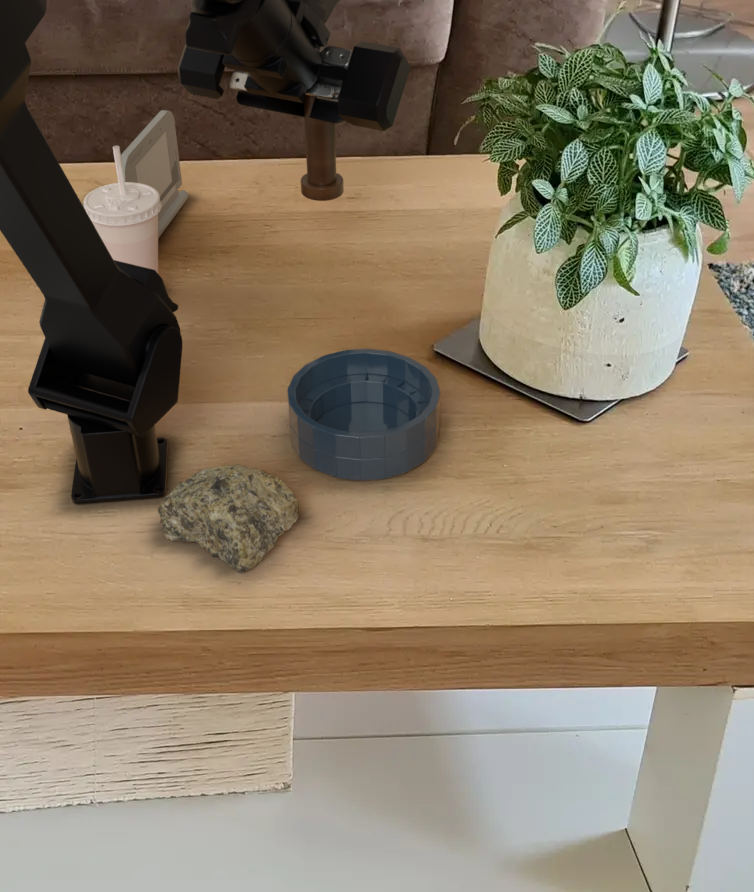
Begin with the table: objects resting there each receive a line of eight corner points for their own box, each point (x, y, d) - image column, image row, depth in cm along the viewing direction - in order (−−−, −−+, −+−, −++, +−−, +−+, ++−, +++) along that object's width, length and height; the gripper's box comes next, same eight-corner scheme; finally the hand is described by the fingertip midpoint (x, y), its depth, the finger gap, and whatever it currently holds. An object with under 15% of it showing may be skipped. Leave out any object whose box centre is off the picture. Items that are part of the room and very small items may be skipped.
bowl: (448, 479, 86) (450, 430, 83) (295, 491, 84) (292, 442, 81) (426, 390, 94) (427, 344, 91) (287, 400, 93) (283, 353, 90)
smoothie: (182, 281, 107) (163, 136, 98) (161, 318, 102) (140, 169, 93) (113, 276, 107) (88, 131, 98) (90, 313, 102) (61, 163, 93)
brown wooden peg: (342, 201, 103) (338, 60, 96) (299, 200, 103) (292, 59, 95) (344, 182, 106) (340, 44, 99) (302, 182, 106) (295, 43, 98)
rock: (227, 481, 85) (221, 431, 82) (312, 522, 82) (310, 472, 79) (157, 536, 80) (149, 486, 77) (245, 582, 77) (240, 531, 74)
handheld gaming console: (104, 191, 120) (88, 97, 114) (189, 200, 120) (178, 105, 113) (50, 252, 110) (30, 153, 104) (143, 262, 109) (128, 162, 103)
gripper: (401, -58, 85) (452, 47, 100) (180, -89, 90) (260, 14, 105) (357, 84, 84) (415, 168, 99) (135, 44, 89) (222, 130, 104)
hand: (327, 115), depth 102 cm, fingers closed on brown wooden peg, 2 cm apart
